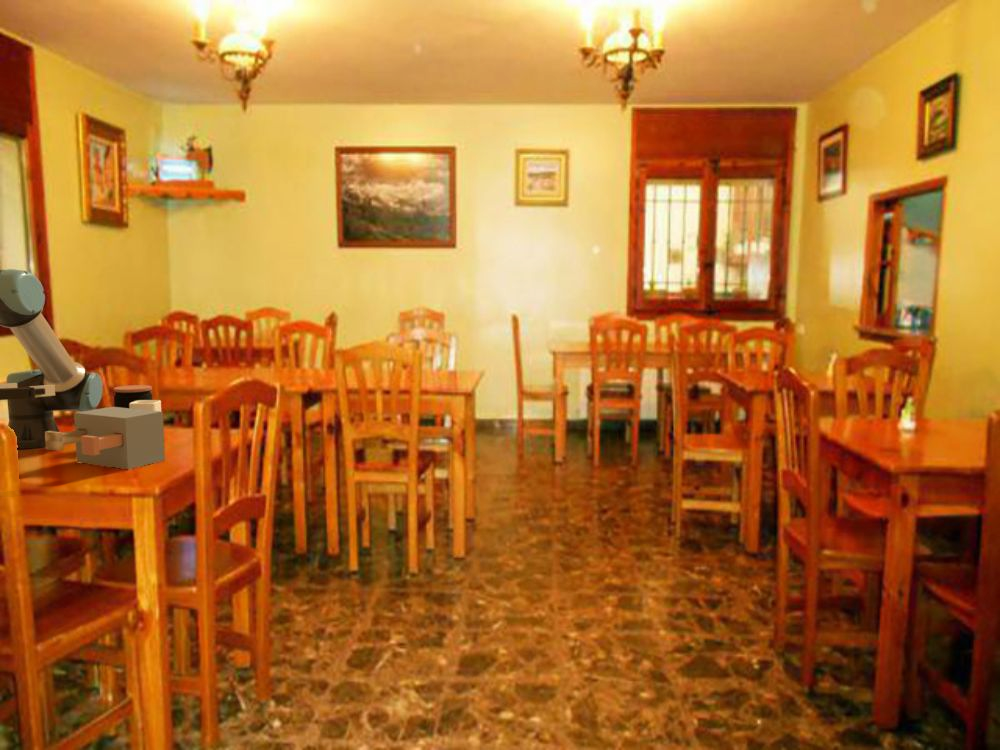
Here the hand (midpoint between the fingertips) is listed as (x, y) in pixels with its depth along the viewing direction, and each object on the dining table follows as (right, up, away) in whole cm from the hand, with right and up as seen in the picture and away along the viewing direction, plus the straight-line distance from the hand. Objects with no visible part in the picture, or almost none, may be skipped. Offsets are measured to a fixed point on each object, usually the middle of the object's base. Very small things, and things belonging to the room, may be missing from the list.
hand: (35, 389), depth 187 cm
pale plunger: (+3, -16, +11) cm, 19 cm away
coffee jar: (+6, -18, +40) cm, 44 cm away
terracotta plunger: (+16, -16, +6) cm, 24 cm away
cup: (+14, -19, +31) cm, 39 cm away
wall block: (+13, -21, +17) cm, 30 cm away
